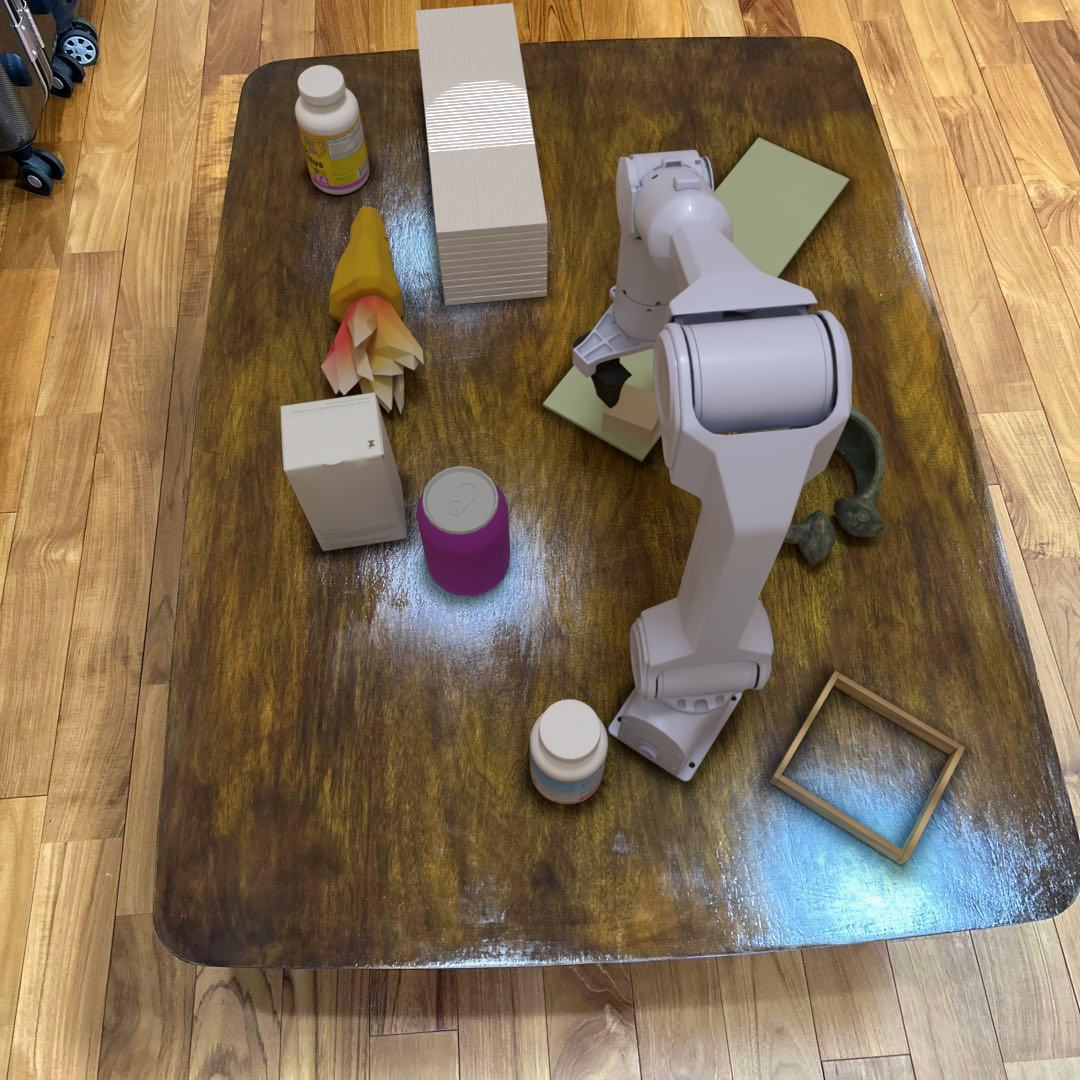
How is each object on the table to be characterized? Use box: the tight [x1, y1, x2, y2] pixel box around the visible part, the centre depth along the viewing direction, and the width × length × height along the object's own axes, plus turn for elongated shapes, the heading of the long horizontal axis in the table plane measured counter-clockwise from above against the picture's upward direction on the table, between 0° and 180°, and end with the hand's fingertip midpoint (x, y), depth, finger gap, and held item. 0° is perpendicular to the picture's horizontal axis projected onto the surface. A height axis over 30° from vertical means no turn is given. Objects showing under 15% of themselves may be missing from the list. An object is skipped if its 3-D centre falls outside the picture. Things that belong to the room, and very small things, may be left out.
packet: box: [602, 383, 660, 447], centre depth 104 cm, size 4×5×3 cm
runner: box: [542, 137, 850, 463], centre depth 113 cm, size 44×12×1 cm, turn 146°
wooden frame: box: [768, 670, 966, 866], centre depth 89 cm, size 11×12×2 cm
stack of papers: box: [414, 2, 548, 306], centre depth 115 cm, size 32×11×11 cm, turn 7°
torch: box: [320, 205, 425, 415], centre depth 108 cm, size 8×8×25 cm
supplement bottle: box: [294, 64, 371, 196], centre depth 115 cm, size 7×7×13 cm
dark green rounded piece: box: [735, 405, 887, 566], centre depth 97 cm, size 15×15×10 cm
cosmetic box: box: [280, 393, 408, 552], centre depth 94 cm, size 8×7×16 cm
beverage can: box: [415, 465, 511, 597], centre depth 93 cm, size 8×8×12 cm
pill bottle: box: [529, 698, 609, 805], centre depth 85 cm, size 6×6×11 cm
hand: (638, 378), depth 98 cm, fingers open, 7 cm apart
